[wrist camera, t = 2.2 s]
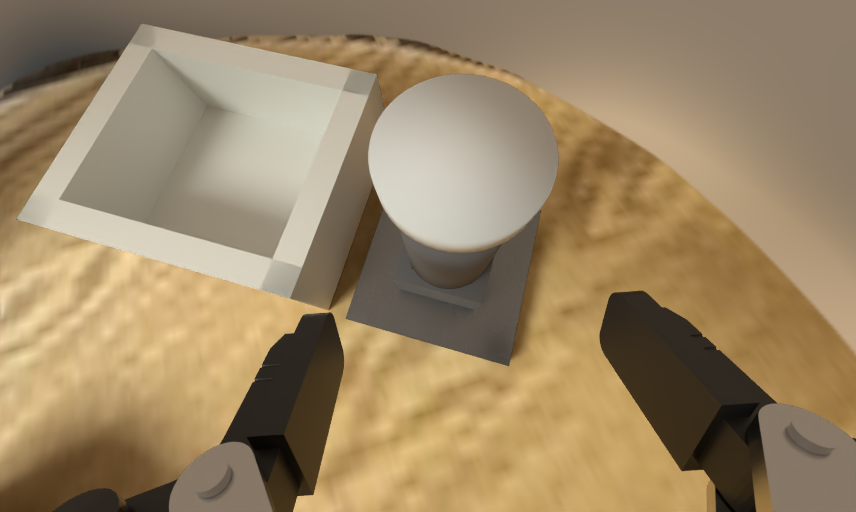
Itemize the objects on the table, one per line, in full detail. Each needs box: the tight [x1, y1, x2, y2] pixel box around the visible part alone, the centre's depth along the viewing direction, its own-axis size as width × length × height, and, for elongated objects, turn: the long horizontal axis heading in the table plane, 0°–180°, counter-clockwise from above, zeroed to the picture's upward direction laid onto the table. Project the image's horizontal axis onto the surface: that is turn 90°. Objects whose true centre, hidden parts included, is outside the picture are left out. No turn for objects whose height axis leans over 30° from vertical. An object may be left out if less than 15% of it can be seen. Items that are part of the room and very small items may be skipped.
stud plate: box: [346, 208, 541, 366], centre depth 20 cm, size 10×10×4 cm
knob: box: [368, 74, 559, 310], centre depth 14 cm, size 5×5×12 cm
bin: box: [17, 24, 385, 310], centre depth 21 cm, size 16×14×6 cm
